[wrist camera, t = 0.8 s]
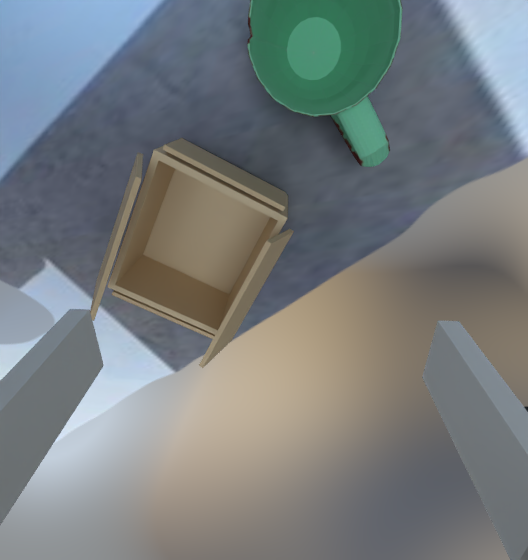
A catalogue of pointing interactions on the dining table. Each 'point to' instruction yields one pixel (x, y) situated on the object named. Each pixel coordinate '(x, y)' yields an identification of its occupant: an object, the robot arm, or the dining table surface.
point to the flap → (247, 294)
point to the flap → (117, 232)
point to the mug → (328, 62)
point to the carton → (194, 236)
